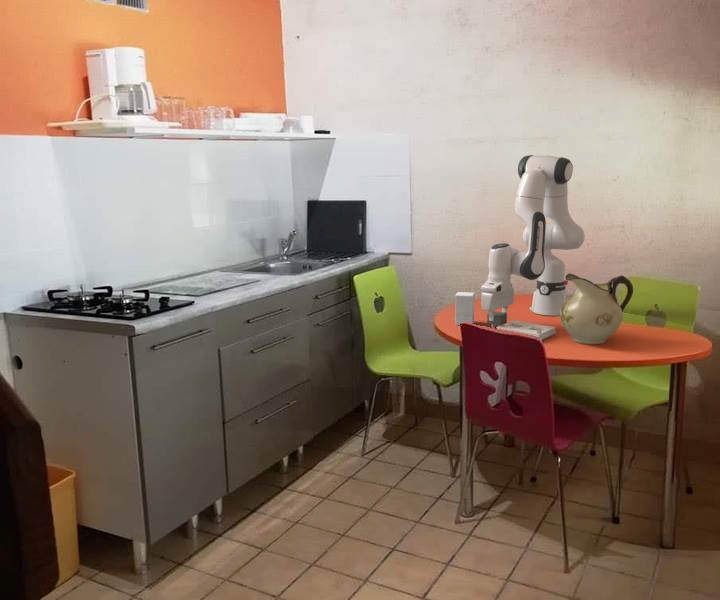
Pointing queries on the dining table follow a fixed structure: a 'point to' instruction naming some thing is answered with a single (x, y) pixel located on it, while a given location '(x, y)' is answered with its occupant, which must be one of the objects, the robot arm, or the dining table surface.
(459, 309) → the supplement box
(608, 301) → the pitcher
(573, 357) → the dining table surface
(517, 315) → the dining table surface
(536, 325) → the double socket
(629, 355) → the dining table surface
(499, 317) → the plug
